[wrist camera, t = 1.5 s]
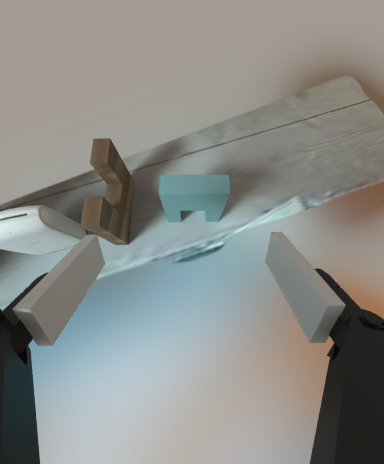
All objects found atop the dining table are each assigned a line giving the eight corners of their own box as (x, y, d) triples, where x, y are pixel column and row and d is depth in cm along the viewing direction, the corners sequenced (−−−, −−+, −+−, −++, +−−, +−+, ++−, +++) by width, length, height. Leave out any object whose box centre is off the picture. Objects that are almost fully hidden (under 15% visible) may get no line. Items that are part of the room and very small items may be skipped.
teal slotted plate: (168, 222, 38) (158, 194, 26) (169, 208, 38) (159, 175, 27) (218, 221, 38) (230, 193, 26) (217, 207, 39) (228, 174, 27)
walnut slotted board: (115, 244, 36) (80, 226, 25) (121, 180, 40) (93, 138, 29) (128, 244, 36) (99, 226, 25) (133, 180, 40) (110, 138, 29)
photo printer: (35, 258, 36) (-44, 245, 24) (33, 237, 37) (-43, 215, 25) (89, 243, 36) (39, 223, 25) (85, 223, 38) (36, 194, 26)
